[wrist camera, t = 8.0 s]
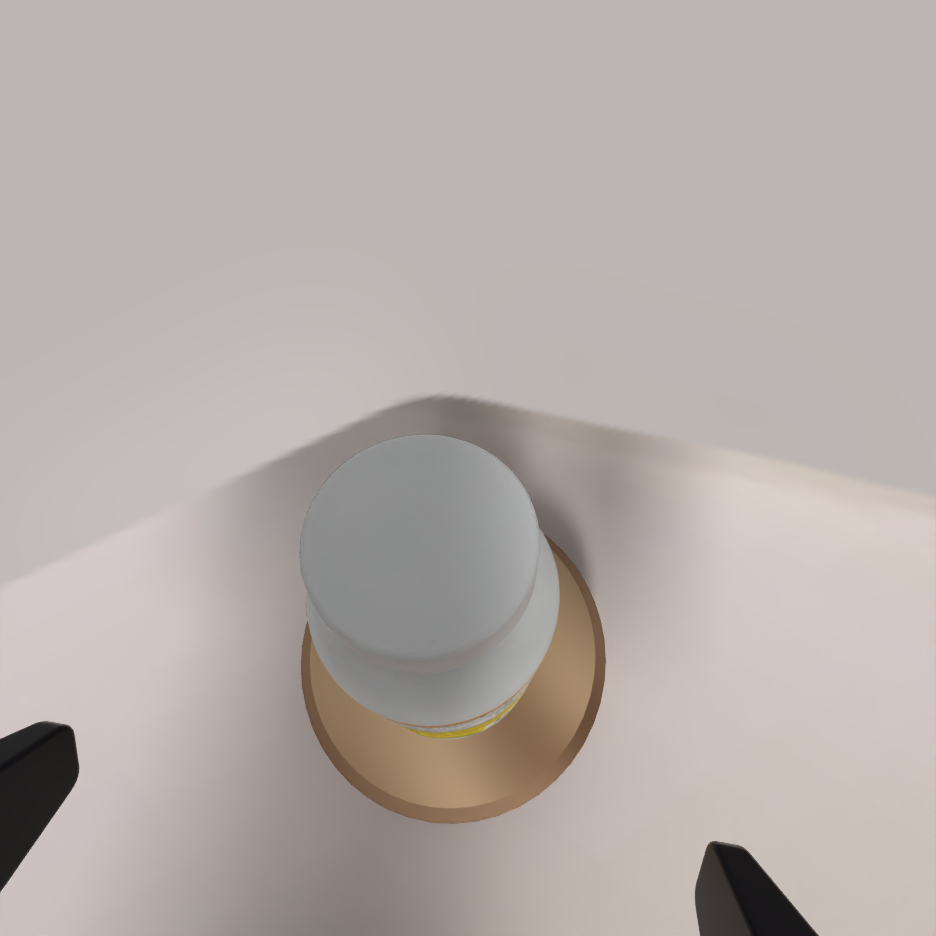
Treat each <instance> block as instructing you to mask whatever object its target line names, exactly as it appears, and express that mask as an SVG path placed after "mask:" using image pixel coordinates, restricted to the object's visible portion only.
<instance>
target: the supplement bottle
mask: <svg viewBox="0 0 936 936" xmlns="http://www.w3.org/2000/svg"><path fill="white" fill-rule="evenodd" d="M300 564H301V575H302V578H303V581H304V584H305V587H306V590H307V596H306V608H307V619H308V624H309V629H310V633H311V637H312V640H313V644H314V646H315V648H316V651H317V653H318V655H319V657H320V659H321V661H322V663H323V665H324V666H325V668H326V669H327V671H328V672H329V674H330V675H331V677H332V678H333V679H334V680H335V682H336V683H337V684H338V685H339V686H340V687H341V688H342V689H343V690H344V691H345V692H346V693H347V694H348V695H349V696H350V697H352V698H353V699H354V700H355V701H356V702H358V703H359V704H361V705H362V706H364V707H365V708H367V709H368V710H370V711H372V712H374V713H376V714H377V715H379V716H381V717H383V718H385V719H388V720H389V721H391V722H394V723H396V724H399V725H401V726H403V727H405V728H406V729H408V730H411V731H413V732H415V733H417V734H420V735H422V736H426V737H431V738H438V739H457V738H463V737H467V736H471V735H474V734H477V733H479V732H482V731H484V730H486V729H488V728H489V727H491V726H493V725H494V724H496V723H497V722H499V721H500V720H501V719H502V718H504V717H505V716H506V715H507V714H508V713H509V712H510V711H511V709H512V708H513V707H514V706H515V705H516V703H517V702H518V701H519V699H520V698H521V696H522V695H523V693H524V692H525V691H526V689H527V687H528V685H529V683H530V681H531V680H532V678H533V676H534V675H535V673H536V671H537V670H538V668H539V666H540V664H541V662H542V661H543V659H544V657H545V655H546V652H547V650H548V648H549V646H550V643H551V641H552V638H553V634H554V631H555V628H556V624H557V618H558V612H559V600H560V591H559V578H558V572H557V567H556V564H555V560H554V557H553V554H552V551H551V548H550V546H549V544H548V542H547V540H546V538H545V536H544V534H543V532H542V531H541V529H540V528H539V526H538V519H537V516H536V512H535V509H534V507H533V504H532V502H531V499H530V497H529V495H528V493H527V491H526V490H525V488H524V486H523V485H522V483H521V482H520V480H519V479H518V478H517V477H516V475H515V474H514V473H513V472H512V471H511V470H510V469H509V468H508V467H507V466H506V465H505V464H504V463H503V462H502V461H500V460H499V459H498V458H497V457H495V456H494V455H493V454H491V453H489V452H488V451H486V450H484V449H483V448H481V447H479V446H477V445H474V444H471V443H469V442H466V441H464V440H461V439H456V438H453V437H448V436H441V435H427V434H420V435H410V436H403V437H397V438H394V439H390V440H386V441H384V442H381V443H378V444H376V445H373V446H371V447H369V448H367V449H365V450H363V451H361V452H359V453H358V454H356V455H354V456H353V457H351V458H350V459H348V460H347V461H346V462H345V463H344V464H342V465H341V466H340V467H339V468H338V469H336V470H335V472H334V473H333V474H332V475H331V476H330V477H329V478H328V479H327V480H326V482H325V483H324V484H323V485H322V487H321V488H320V489H319V491H318V493H317V494H316V496H315V498H314V499H313V502H312V504H311V506H310V508H309V510H308V513H307V515H306V518H305V521H304V524H303V529H302V534H301V541H300Z"/></svg>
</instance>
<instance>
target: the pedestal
mask: <svg viewBox="0 0 936 936" xmlns="http://www.w3.org/2000/svg"><path fill="white" fill-rule="evenodd" d="M544 536H545V535H544ZM545 538H546V540H547V542H548V544H549V546H550V548H551V551H552V554H553V557H554V560H555V564H556V567H557V572H558V578H559V591H560V600H559V612H558V618H557V624H556V628H555V631H554V634H553V638H552V641H551V643H550V646H549V648H548V650H547V652H546V655H545V657H544V659H543V661H542V662H541V664H540V666H539V668H538V670H537V671H536V673H535V675H534V676H533V678H532V680H531V681H530V683H529V685H528V687H527V689H526V691H525V692H524V693H523V695H522V696H521V698H520V699H519V701H518V702H517V703H516V705H515V706H514V707H513V708H512V709H511V711H510V712H509V713H508V714H507V715H506V716H505V717H504V718H502V719H501V720H500V721H499V722H497V723H496V724H494V725H493V726H491V727H489V728H488V729H486V730H484V731H482V732H479V733H477V734H474V735H471V736H467V737H463V738H457V739H438V738H431V737H426V736H422V735H420V734H417V733H415V732H413V731H411V730H408V729H406V728H405V727H403V726H401V725H399V724H396V723H394V722H391V721H389V720H388V719H385V718H383V717H381V716H379V715H377V714H376V713H374V712H372V711H370V710H368V709H367V708H365V707H364V706H362V705H361V704H359V703H358V702H356V701H355V700H354V699H353V698H352V697H350V696H349V695H348V694H347V693H346V692H345V691H344V690H343V689H342V688H341V687H340V686H339V685H338V684H337V683H336V682H335V680H334V679H333V678H332V677H331V675H330V674H329V672H328V671H327V669H326V668H325V666H324V665H323V663H322V661H321V659H320V657H319V655H318V653H317V651H316V648H315V646H314V644H313V640H312V637H311V633H310V629H309V624H308V621H307V624H306V629H305V634H304V639H303V645H302V659H301V675H302V689H303V694H304V699H305V704H306V709H307V712H308V715H309V718H310V721H311V724H312V727H313V730H314V732H315V734H316V736H317V738H318V740H319V742H320V744H321V746H322V748H323V750H324V751H325V753H326V754H327V756H328V757H329V758H330V760H331V761H332V763H333V764H334V766H335V767H336V768H337V769H338V771H339V772H340V773H341V774H342V775H343V776H344V777H345V778H346V779H347V780H348V781H349V782H350V784H352V785H353V786H354V787H355V788H357V789H358V790H359V791H360V792H362V793H363V794H364V795H365V796H366V797H368V798H369V799H371V800H373V801H374V802H376V803H378V804H380V805H381V806H383V807H385V808H386V809H389V810H391V811H394V812H396V813H399V814H401V815H404V816H406V817H409V818H414V819H418V820H423V821H427V822H436V823H452V824H454V823H464V822H475V821H479V820H483V819H487V818H491V817H495V816H499V815H501V814H503V813H506V812H508V811H510V810H513V809H515V808H517V807H519V806H521V805H523V804H524V803H526V802H528V801H529V800H531V799H532V798H534V797H536V796H537V795H539V794H540V793H541V792H542V791H544V790H545V789H546V788H547V787H548V786H550V785H551V784H552V783H553V782H554V781H555V780H556V779H557V778H558V777H559V776H560V775H561V774H562V773H563V772H564V770H565V769H566V768H567V767H568V766H569V765H570V764H571V762H572V761H573V759H574V758H575V756H576V755H577V753H578V752H579V750H580V749H581V747H582V746H583V744H584V743H585V740H586V738H587V736H588V734H589V732H590V730H591V728H592V726H593V724H594V721H595V718H596V715H597V712H598V709H599V706H600V702H601V697H602V692H603V686H604V680H605V663H606V658H605V643H604V636H603V631H602V626H601V620H600V617H599V614H598V611H597V608H596V605H595V602H594V599H593V597H592V595H591V593H590V591H589V589H588V586H587V584H586V582H585V581H584V579H583V578H582V576H581V574H580V573H579V571H578V570H577V568H576V566H575V565H574V564H573V563H572V562H571V560H570V559H569V558H568V557H567V555H566V554H565V553H564V552H563V551H562V550H561V549H560V548H559V547H558V546H557V545H556V544H555V543H554V542H553V541H552V540H551V539H549V538H548V537H547V536H545Z"/></svg>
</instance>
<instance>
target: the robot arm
mask: <svg viewBox="0 0 936 936" xmlns="http://www.w3.org/2000/svg"><path fill="white" fill-rule="evenodd" d="M78 775H79V762H78V755H77V748H76V742H75V735H74V731H73V729H72V728H71V727H70V726H69V725H66V724H60V723H54V722H48V721H43V722H38V723H35V724H33V725H31V726H28V727H26V728H24V729H22V730H19V731H17V732H15V733H13V734H10V735H8V736H6V737H4V738H1V739H0V892H1V890H2V889H3V888H4V886H5V885H6V884H7V882H8V881H9V879H10V878H11V876H12V875H13V873H14V872H15V871H16V869H17V868H18V866H19V865H20V863H21V862H22V861H23V859H24V858H25V856H26V855H27V853H28V852H29V850H30V849H31V848H32V846H33V845H34V843H35V842H36V840H37V839H38V838H39V836H40V835H41V833H42V832H43V830H44V829H45V827H46V826H47V825H48V823H49V822H50V820H51V819H52V817H53V816H54V815H55V813H56V812H57V810H58V809H59V807H60V806H61V804H62V803H63V802H64V800H65V799H66V797H67V796H68V794H69V793H70V792H71V790H72V788H73V787H74V785H75V783H76V781H77V778H78ZM695 905H696V913H697V919H698V925H699V931H700V936H819V935H818V934H817V933H816V932H815V931H814V930H813V928H812V927H811V926H810V925H809V924H808V922H807V921H806V920H805V919H804V918H803V916H802V915H801V914H800V913H799V912H798V910H797V909H796V908H795V907H794V906H793V904H792V903H791V902H790V901H789V900H788V898H787V897H786V896H785V895H784V894H783V892H782V891H781V890H780V889H779V888H778V886H777V885H776V884H775V883H774V882H773V880H772V879H771V878H770V877H769V876H768V874H767V873H766V872H765V871H764V870H763V868H762V867H761V866H760V865H759V864H758V862H757V861H756V860H755V859H754V858H753V856H752V855H751V854H750V853H749V852H748V851H747V850H746V849H745V848H743V847H741V846H739V845H735V844H729V843H724V842H718V841H712V842H710V843H709V844H708V846H707V848H706V851H705V855H704V858H703V862H702V865H701V869H700V872H699V876H698V879H697V882H696V887H695Z"/></svg>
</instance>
